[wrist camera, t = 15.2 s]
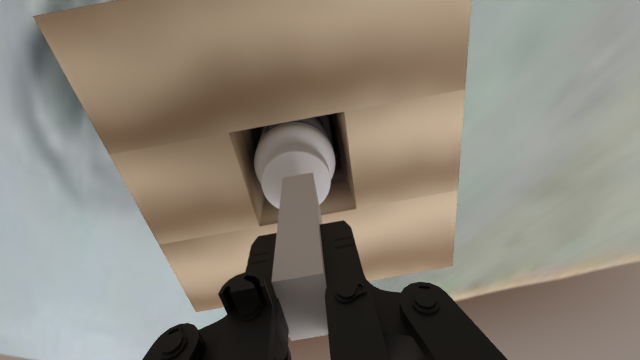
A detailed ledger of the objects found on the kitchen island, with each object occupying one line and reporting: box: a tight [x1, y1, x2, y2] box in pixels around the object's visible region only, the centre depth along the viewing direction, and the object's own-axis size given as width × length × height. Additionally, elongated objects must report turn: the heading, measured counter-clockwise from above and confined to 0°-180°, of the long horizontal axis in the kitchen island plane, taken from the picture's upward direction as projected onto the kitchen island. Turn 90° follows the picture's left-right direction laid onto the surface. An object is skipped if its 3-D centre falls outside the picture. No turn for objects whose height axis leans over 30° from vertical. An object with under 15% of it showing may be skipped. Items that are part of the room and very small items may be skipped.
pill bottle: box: [254, 116, 335, 209], centre depth 20 cm, size 6×5×10 cm
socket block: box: [33, 0, 471, 312], centre depth 22 cm, size 20×20×10 cm
